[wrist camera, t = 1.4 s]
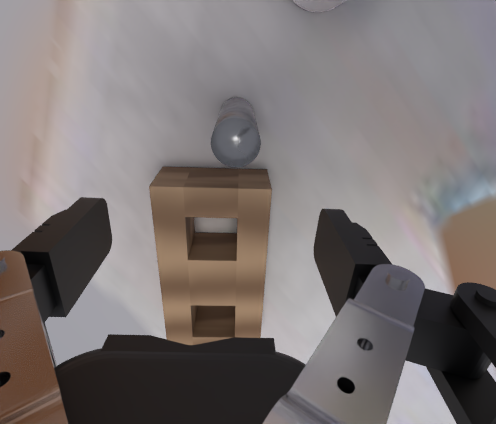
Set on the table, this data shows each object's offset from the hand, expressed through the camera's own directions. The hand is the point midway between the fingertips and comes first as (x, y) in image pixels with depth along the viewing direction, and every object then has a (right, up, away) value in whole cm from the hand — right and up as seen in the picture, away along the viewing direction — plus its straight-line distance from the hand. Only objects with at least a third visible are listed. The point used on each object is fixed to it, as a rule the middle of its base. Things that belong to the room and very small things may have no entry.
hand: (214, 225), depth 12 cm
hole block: (-2, -4, +23) cm, 23 cm away
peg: (0, +9, +16) cm, 18 cm away
